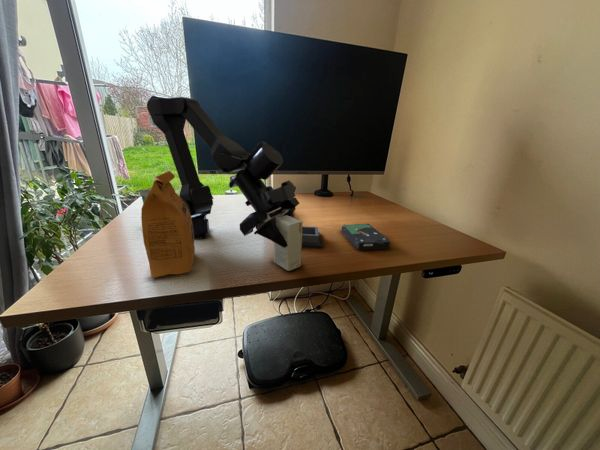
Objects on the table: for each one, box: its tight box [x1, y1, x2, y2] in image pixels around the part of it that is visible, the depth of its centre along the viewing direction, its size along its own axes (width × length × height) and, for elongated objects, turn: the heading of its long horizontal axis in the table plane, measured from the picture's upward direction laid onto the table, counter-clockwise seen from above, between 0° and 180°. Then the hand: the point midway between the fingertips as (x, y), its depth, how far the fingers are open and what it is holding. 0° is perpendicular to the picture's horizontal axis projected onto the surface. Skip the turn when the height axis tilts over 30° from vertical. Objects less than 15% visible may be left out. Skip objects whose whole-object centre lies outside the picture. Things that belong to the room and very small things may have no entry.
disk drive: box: [341, 223, 391, 251], centre depth 78 cm, size 10×3×15 cm
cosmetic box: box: [273, 215, 304, 272], centre depth 59 cm, size 6×4×12 cm
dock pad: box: [302, 225, 323, 249], centre depth 75 cm, size 10×11×3 cm
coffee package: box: [140, 170, 196, 279], centre depth 55 cm, size 10×12×22 cm
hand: (292, 242), depth 59 cm, fingers closed on cosmetic box, 5 cm apart
